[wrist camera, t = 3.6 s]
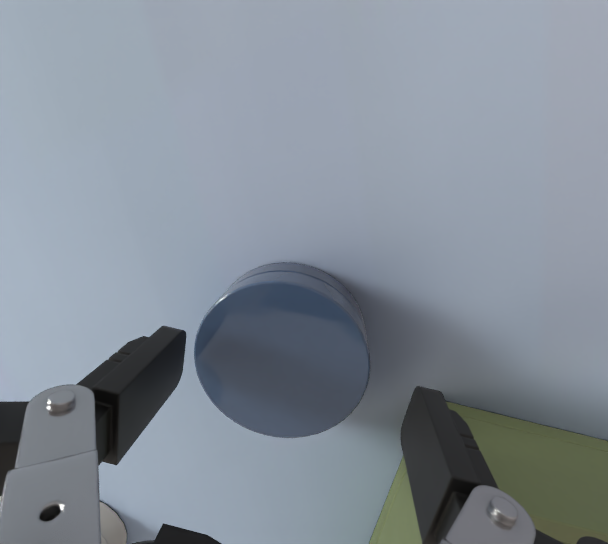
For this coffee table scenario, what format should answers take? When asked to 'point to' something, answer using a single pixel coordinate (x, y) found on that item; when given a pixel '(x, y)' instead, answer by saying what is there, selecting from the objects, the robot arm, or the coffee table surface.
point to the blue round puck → (284, 351)
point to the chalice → (111, 526)
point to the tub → (522, 479)
